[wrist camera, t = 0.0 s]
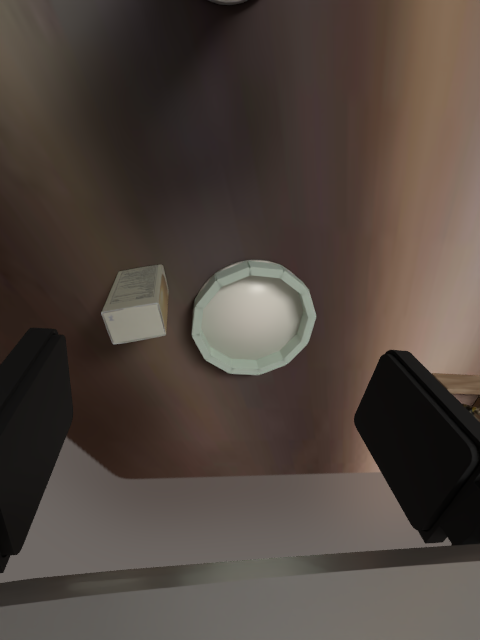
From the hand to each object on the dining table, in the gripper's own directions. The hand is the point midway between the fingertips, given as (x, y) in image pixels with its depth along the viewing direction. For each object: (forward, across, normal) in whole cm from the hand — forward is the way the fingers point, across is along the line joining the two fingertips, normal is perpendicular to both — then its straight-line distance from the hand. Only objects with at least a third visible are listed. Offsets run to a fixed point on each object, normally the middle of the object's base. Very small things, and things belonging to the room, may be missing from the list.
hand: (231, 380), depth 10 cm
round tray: (+37, -10, +17) cm, 42 cm away
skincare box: (+37, +6, +13) cm, 40 cm away
